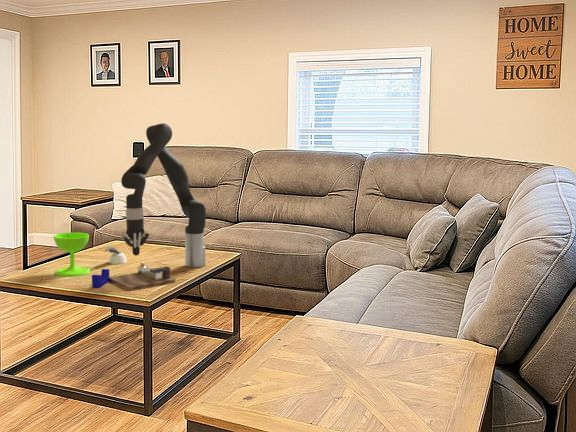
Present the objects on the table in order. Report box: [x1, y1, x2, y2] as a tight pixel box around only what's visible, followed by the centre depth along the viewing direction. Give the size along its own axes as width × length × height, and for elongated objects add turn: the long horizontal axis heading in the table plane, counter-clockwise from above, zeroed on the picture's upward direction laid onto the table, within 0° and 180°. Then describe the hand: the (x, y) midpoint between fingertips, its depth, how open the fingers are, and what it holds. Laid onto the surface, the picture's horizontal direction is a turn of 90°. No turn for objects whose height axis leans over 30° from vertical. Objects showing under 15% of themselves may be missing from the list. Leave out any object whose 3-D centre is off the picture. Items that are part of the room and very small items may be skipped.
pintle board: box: [109, 266, 176, 291], centre depth 286 cm, size 23×21×6 cm
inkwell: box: [104, 245, 128, 265], centre depth 318 cm, size 9×18×10 cm, turn 172°
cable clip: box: [91, 268, 110, 289], centre depth 280 cm, size 12×4×6 cm, turn 174°
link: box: [137, 261, 163, 280], centre depth 290 cm, size 18×4×5 cm, turn 40°
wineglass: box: [53, 232, 91, 278], centre depth 299 cm, size 16×16×18 cm
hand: (136, 255), depth 284 cm, fingers closed
